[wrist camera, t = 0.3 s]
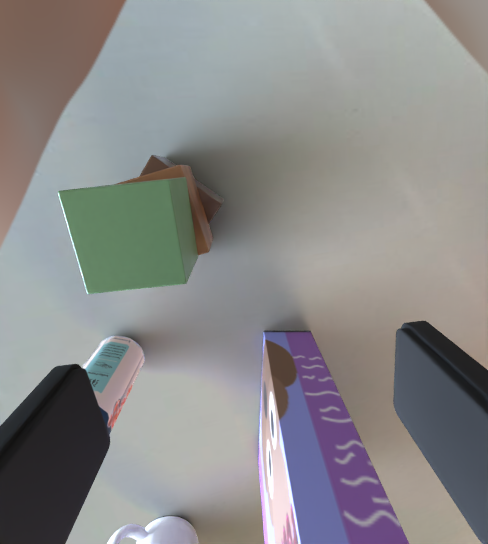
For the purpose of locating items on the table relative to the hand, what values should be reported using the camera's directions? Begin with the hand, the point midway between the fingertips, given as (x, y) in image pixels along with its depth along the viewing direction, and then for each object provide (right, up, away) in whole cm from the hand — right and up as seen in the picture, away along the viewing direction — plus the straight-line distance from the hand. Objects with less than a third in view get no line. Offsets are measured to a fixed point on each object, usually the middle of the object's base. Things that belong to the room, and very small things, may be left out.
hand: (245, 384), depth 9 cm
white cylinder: (-13, -5, +22) cm, 26 cm away
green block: (-6, +6, +10) cm, 13 cm away
